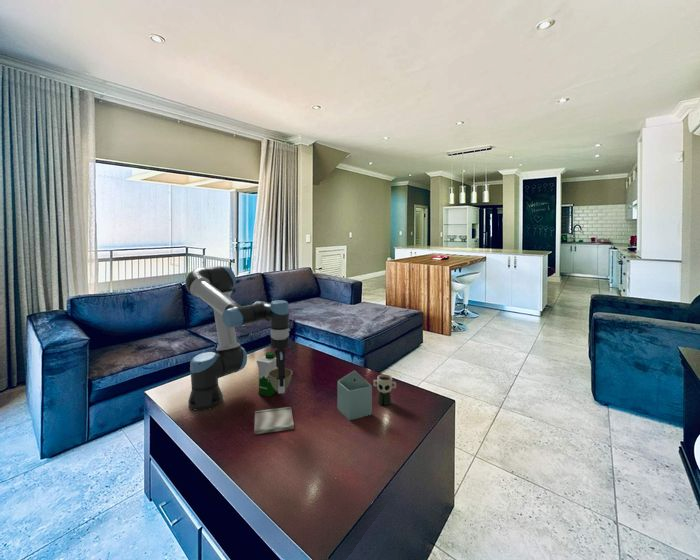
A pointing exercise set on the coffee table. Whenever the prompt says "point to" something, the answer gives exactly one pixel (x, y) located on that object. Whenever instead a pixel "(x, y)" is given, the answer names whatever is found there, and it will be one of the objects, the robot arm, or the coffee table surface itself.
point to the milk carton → (266, 374)
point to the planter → (354, 396)
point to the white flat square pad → (273, 420)
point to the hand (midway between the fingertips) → (280, 386)
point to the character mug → (384, 388)
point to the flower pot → (274, 375)
